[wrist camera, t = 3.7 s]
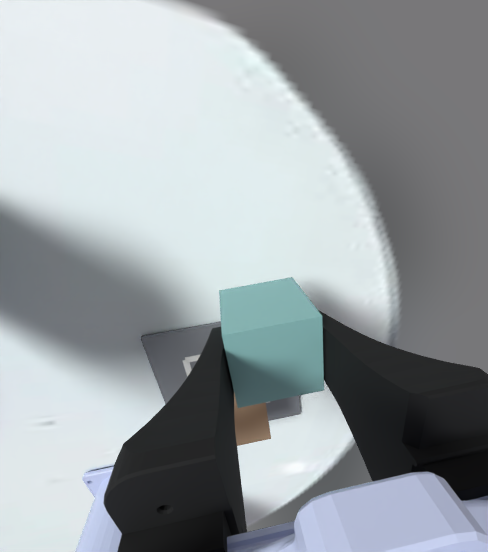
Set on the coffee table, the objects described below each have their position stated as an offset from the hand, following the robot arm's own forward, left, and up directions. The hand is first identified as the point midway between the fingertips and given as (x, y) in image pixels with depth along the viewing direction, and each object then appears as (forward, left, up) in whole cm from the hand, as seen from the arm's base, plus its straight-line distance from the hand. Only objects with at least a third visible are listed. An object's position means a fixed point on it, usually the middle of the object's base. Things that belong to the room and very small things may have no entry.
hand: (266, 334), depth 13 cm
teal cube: (0, 0, -2) cm, 2 cm away
